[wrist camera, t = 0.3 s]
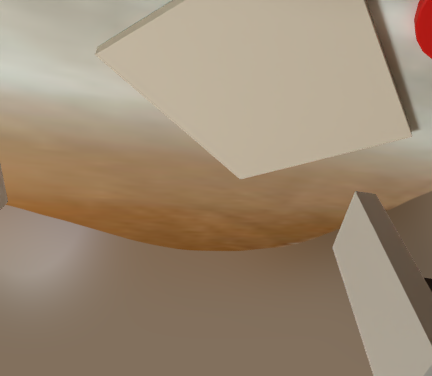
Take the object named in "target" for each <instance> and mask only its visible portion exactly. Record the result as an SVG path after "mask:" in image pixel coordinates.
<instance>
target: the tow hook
mask: <svg viewBox="0 0 432 376" xmlns="http://www.w3.org/2000/svg"><path fill="white" fill-rule="evenodd" d="M414 22H415V33H416V39H417V42H418V43H419V45H420V47H421V49H422V51H423V52H424V53H425V54H426V55H428V56H429V57H430V58H431V59H432V0H420V1H419V3H418V7H417V11H416V15H415V19H414Z"/></svg>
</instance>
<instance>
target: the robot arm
mask: <svg viewBox="0 0 432 376" xmlns="http://www.w3.org/2000/svg"><path fill="white" fill-rule="evenodd" d="M7 202H8V200H7V195H6V190H5V185H4V180H3V175H2V170H1V165H0V210H1V209H2V207H4V205H5V204H6V203H7ZM333 251H334V254H335V256H336V260H337V263H338V266H339V269H340V272H341V275H342V279H343V282H344V285H345V288H346V291H347V294H348V297H349V300H350V304H351V307H352V310H353V312H354V316H355V319H356V322H357V325H358V328H359V331H360V335H361V338H362V341H363V344H364V347H365V350H366V353H367V356H368V359H369V363H370V366H371V369H372V372H373V375H374V376H432V279H429V278H424V277H423V276H422V274H421V272H420V270H419V269H418V267H417V265H416V264H415V262H414V260H413V258H412V256H411V255H410V253H409V251H408V250H407V248H406V246H405V244H404V243H403V241H402V239H401V237H400V236H399V234H398V232H397V230H396V229H395V227H394V225H393V223H392V222H391V220H390V218H389V216H388V215H387V213H386V211H385V209H384V208H383V206H382V204H381V202H380V201H379V199H378V197H377V195H376V194H372V193H365V192H358V191H355V193H354V196H353V198H352V201H351V203H350V205H349V208H348V210H347V213H346V215H345V218H344V220H343V223H342V225H341V228H340V230H339V233H338V235H337V238H336V240H335V243H334V245H333Z"/></svg>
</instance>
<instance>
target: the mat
mask: <svg viewBox="0 0 432 376" xmlns="http://www.w3.org/2000/svg"><path fill="white" fill-rule="evenodd" d="M95 55H96V56H97V57H98V58H99V59H100V60H102V61H103V62H104V63H105V64H106V65H107V66H109V67H110V68H111V69H112V70H113V71H114V72H116V73H117V74H118V75H119V76H120V77H121V78H123V79H124V80H125V81H126V82H127V83H128V84H130V85H131V86H132V87H133V88H134V89H135V90H137V91H138V92H139V93H140V94H141V95H142V96H144V97H145V98H146V99H147V100H148V101H149V102H151V103H152V104H153V105H154V106H155V107H156V108H158V109H159V110H160V111H161V112H162V113H163V114H165V115H166V116H167V117H168V118H169V119H170V120H172V121H173V122H174V123H175V124H176V125H177V126H179V127H180V128H181V129H182V130H183V131H184V132H186V133H187V134H188V135H189V136H190V137H192V138H193V139H194V140H195V141H196V142H197V143H199V144H200V145H201V146H202V147H203V148H204V149H206V150H207V151H208V152H209V153H210V154H211V155H213V156H214V157H215V158H216V159H217V160H218V161H220V162H221V163H222V164H223V165H224V166H225V167H227V168H228V169H229V170H230V171H231V172H232V173H234V174H235V175H236V176H237V177H238V178H239V179H244V178H248V177H252V176H256V175H260V174H264V173H268V172H272V171H276V170H280V169H284V168H288V167H292V166H296V165H300V164H304V163H308V162H312V161H316V160H320V159H324V158H328V157H332V156H336V155H340V154H344V153H348V152H353V151H357V150H361V149H365V148H369V147H373V146H377V145H381V144H385V143H389V142H393V141H397V140H401V139H405V138H409V137H412V133H411V129H410V126H409V123H408V120H407V117H406V114H405V112H404V109H403V106H402V103H401V100H400V97H399V94H398V92H397V89H396V86H395V83H394V80H393V77H392V74H391V72H390V69H389V66H388V63H387V60H386V57H385V54H384V52H383V49H382V46H381V43H380V40H379V37H378V34H377V32H376V29H375V26H374V23H373V20H372V17H371V15H370V12H369V9H368V6H367V3H366V0H173V1H171V2H169V3H168V4H166V5H165V6H163V7H161V8H160V9H158V10H156V11H155V12H153V13H152V14H150V15H148V16H147V17H145V18H144V19H142V20H140V21H139V22H137V23H135V24H134V25H132V26H131V27H129V28H127V29H126V30H124V31H122V32H121V33H119V34H118V35H116V36H114V37H113V38H111V39H110V40H108V41H106V42H105V43H103V44H101V45H100V46H98V47H97V50H96V53H95Z"/></svg>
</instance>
